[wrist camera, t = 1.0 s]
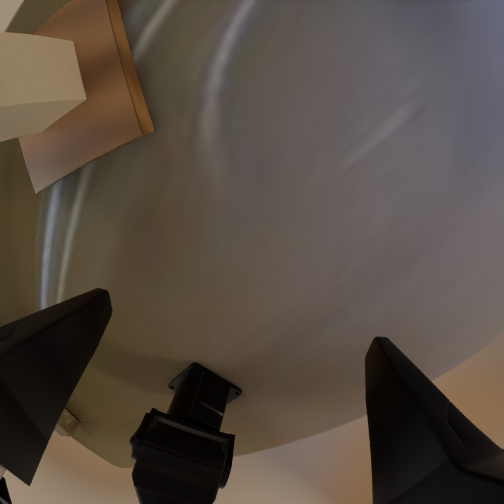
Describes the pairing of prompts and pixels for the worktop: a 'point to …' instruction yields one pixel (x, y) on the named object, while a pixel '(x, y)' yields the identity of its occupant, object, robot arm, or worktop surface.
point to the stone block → (66, 424)
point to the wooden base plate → (90, 94)
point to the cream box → (36, 83)
